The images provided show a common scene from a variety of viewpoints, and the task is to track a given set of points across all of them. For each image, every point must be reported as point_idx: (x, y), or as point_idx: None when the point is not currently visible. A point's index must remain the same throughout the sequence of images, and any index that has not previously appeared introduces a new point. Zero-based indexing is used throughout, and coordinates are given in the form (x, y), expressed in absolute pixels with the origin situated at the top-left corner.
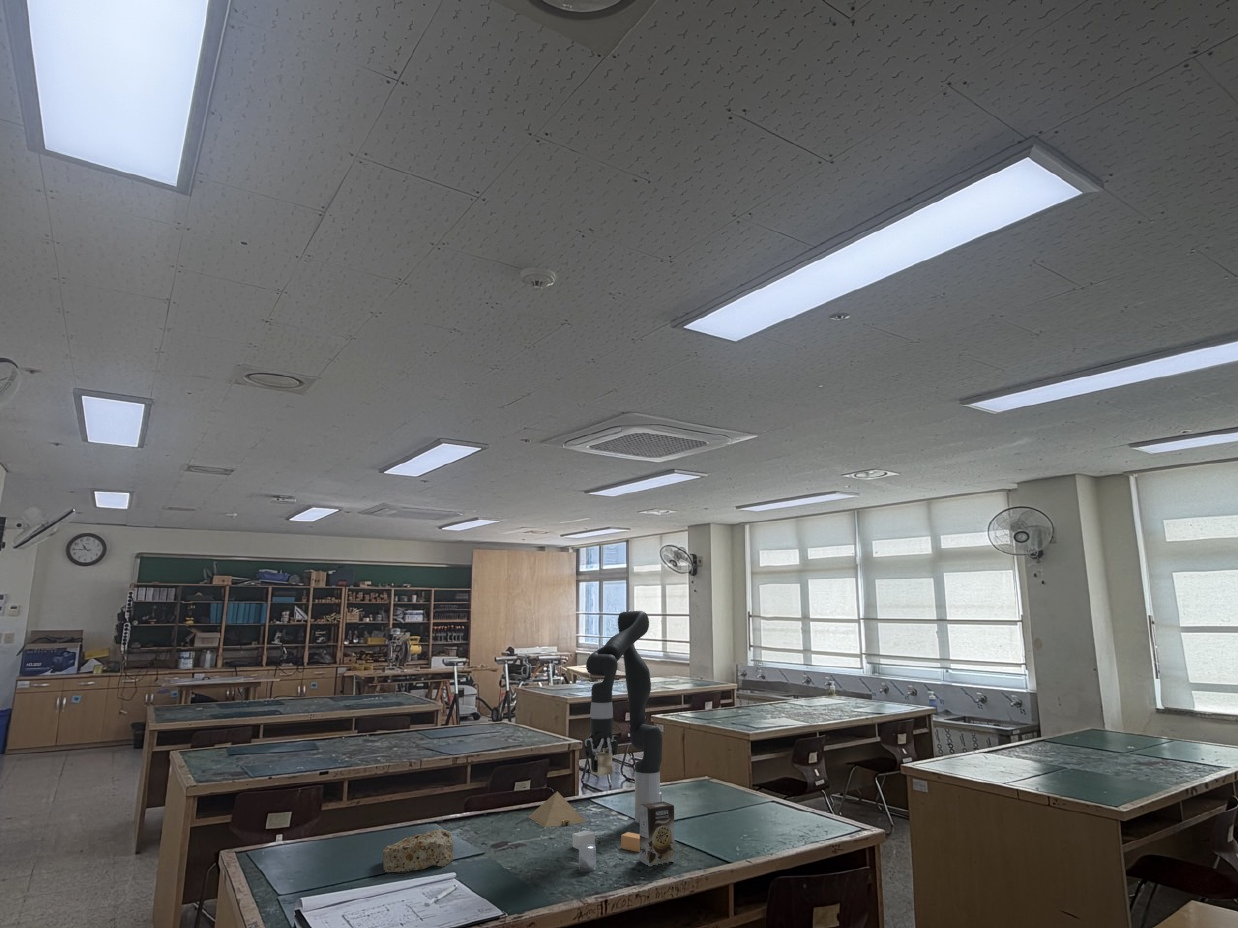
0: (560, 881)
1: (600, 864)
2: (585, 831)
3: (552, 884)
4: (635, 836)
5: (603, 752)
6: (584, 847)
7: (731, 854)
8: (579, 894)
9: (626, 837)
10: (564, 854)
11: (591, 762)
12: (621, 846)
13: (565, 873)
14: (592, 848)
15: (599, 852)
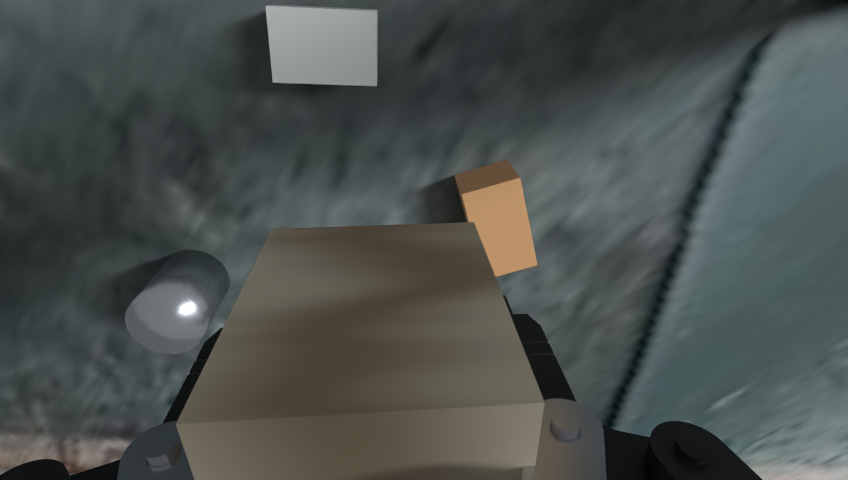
0: (49, 319)
1: None
2: (352, 21)
3: (11, 325)
4: (495, 246)
5: (528, 435)
6: (147, 325)
7: (662, 422)
8: (72, 419)
9: (467, 218)
10: (185, 84)
11: (175, 411)
12: (455, 178)
13: (95, 272)
14: (174, 351)
15: (341, 164)
